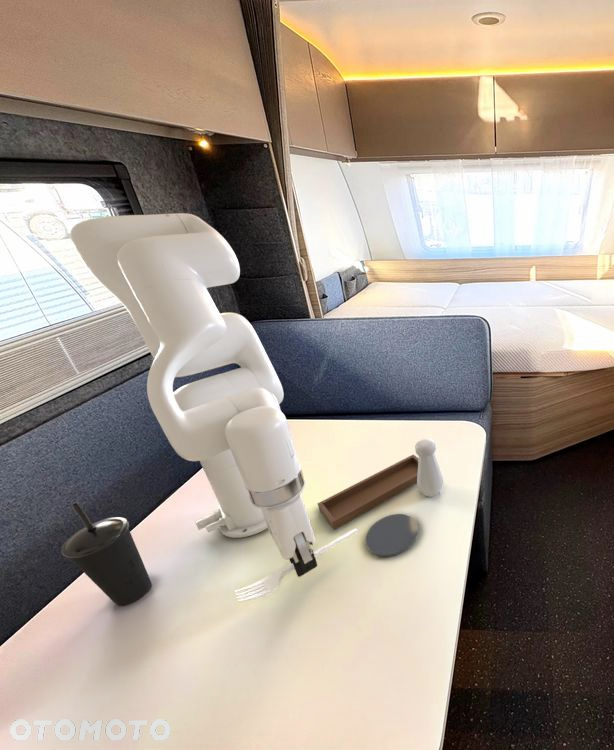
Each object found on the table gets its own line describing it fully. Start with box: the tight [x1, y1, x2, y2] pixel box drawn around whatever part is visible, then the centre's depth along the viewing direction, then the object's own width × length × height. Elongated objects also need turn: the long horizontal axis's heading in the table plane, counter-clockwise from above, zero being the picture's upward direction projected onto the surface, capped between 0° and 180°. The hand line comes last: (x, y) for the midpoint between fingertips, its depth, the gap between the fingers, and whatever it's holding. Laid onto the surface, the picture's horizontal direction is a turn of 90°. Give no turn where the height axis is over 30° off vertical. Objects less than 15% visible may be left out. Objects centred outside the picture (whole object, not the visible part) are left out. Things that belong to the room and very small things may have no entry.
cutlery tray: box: [317, 453, 419, 531], centre depth 86 cm, size 24×8×2 cm, turn 134°
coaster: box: [365, 513, 420, 558], centre depth 75 cm, size 10×10×1 cm
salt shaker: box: [414, 438, 444, 498], centre depth 84 cm, size 6×6×13 cm
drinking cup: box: [60, 502, 153, 607], centre depth 62 cm, size 8×8×20 cm
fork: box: [233, 528, 359, 602], centre depth 67 cm, size 3×20×2 cm, turn 134°
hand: (303, 563), depth 67 cm, fingers closed on fork, 2 cm apart
